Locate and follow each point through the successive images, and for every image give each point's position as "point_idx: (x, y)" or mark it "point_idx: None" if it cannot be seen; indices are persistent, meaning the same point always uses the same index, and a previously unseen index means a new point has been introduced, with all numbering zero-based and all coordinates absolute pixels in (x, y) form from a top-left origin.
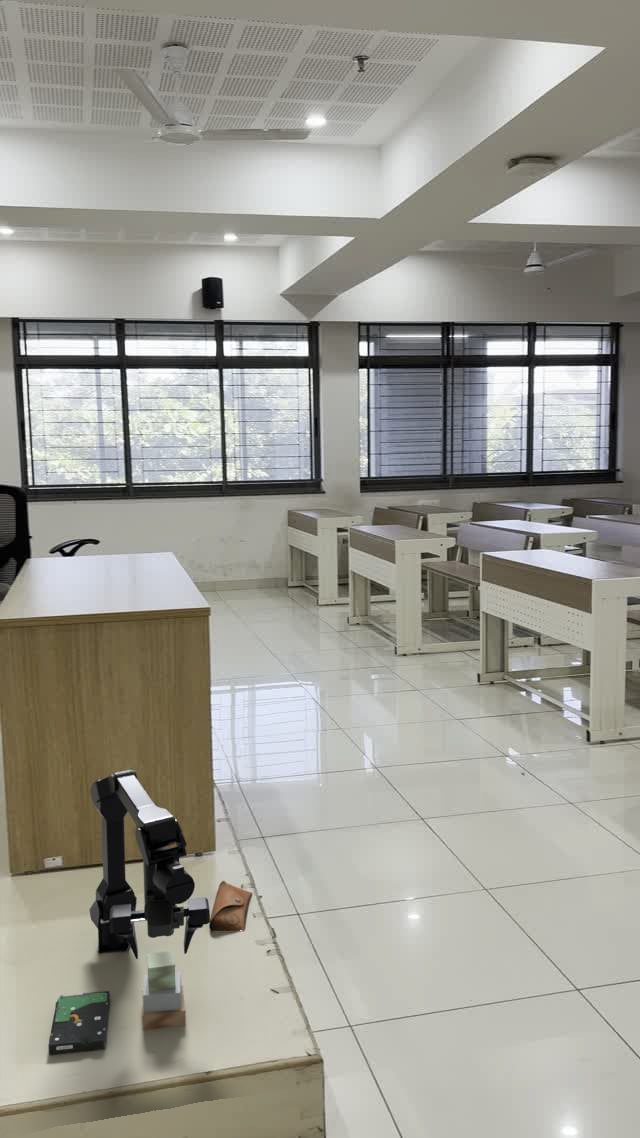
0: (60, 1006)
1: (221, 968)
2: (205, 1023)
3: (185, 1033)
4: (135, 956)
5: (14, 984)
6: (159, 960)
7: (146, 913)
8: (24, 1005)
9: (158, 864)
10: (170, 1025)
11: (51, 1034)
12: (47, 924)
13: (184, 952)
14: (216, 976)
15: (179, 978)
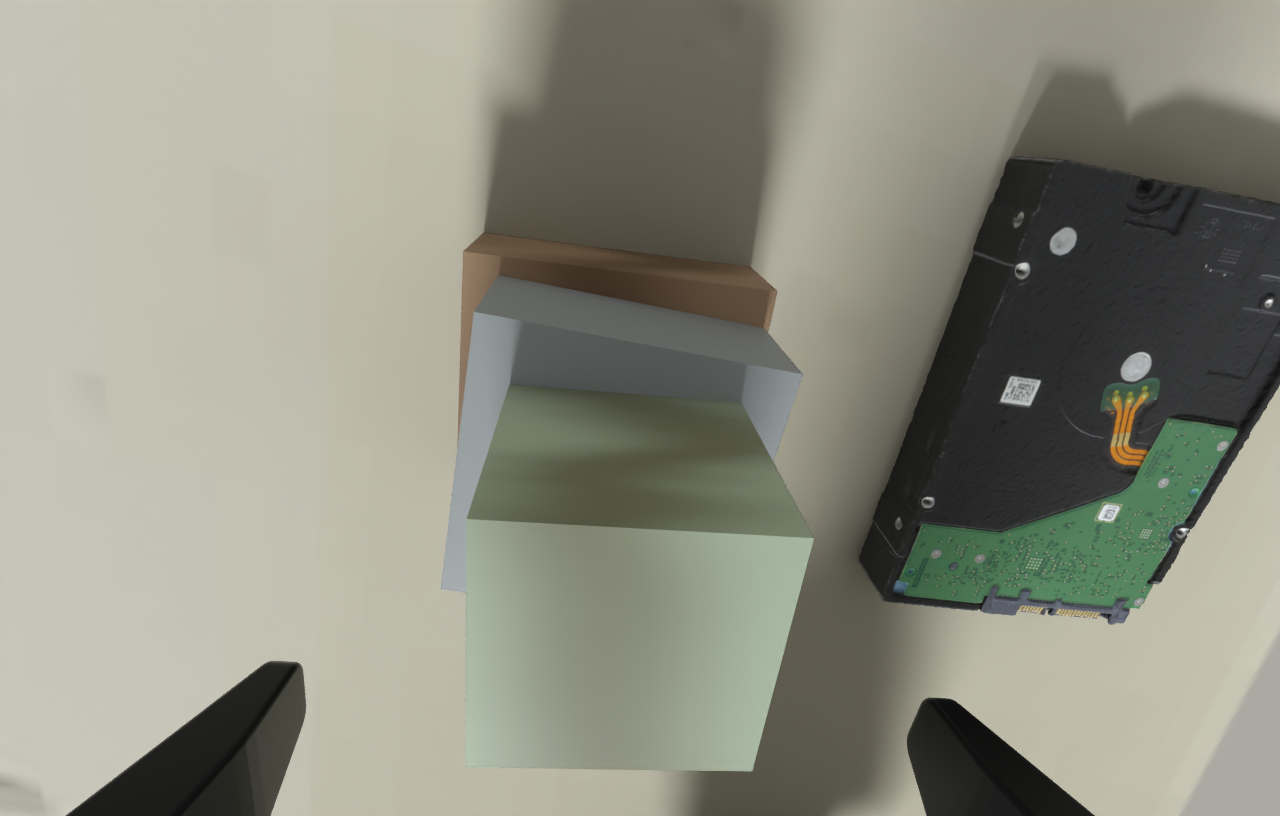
0: (1156, 545)
1: (237, 660)
2: (346, 206)
3: (492, 143)
4: (981, 728)
5: (1195, 750)
6: (648, 643)
7: None
8: (1222, 622)
9: None
10: (581, 248)
11: None
12: None
13: (285, 676)
14: (266, 607)
15: (461, 507)
